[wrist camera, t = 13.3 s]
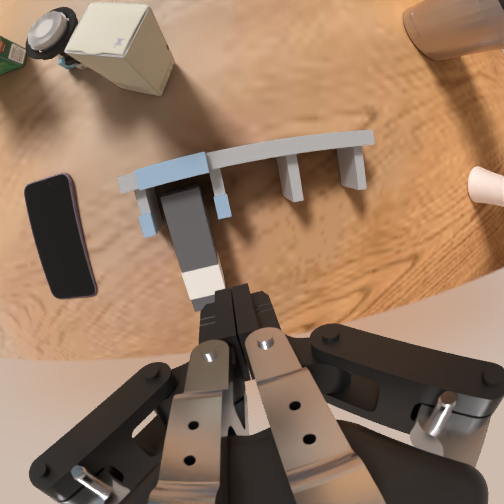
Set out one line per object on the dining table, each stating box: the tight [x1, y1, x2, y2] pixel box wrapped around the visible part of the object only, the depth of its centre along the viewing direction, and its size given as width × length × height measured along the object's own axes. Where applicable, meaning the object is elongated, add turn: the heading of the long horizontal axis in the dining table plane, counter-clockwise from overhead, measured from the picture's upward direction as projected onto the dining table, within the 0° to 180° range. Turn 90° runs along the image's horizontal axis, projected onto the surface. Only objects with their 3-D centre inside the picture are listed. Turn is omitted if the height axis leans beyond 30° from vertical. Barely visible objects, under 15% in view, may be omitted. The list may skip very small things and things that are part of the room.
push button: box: [26, 7, 87, 69], centre depth 16 cm, size 7×5×10 cm
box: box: [64, 2, 175, 96], centre depth 17 cm, size 5×4×13 cm
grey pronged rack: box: [117, 130, 375, 238], centre depth 25 cm, size 24×6×6 cm, turn 101°
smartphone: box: [24, 173, 97, 299], centre depth 27 cm, size 7×1×15 cm
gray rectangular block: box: [161, 184, 227, 312], centre depth 28 cm, size 12×4×4 cm, turn 11°
